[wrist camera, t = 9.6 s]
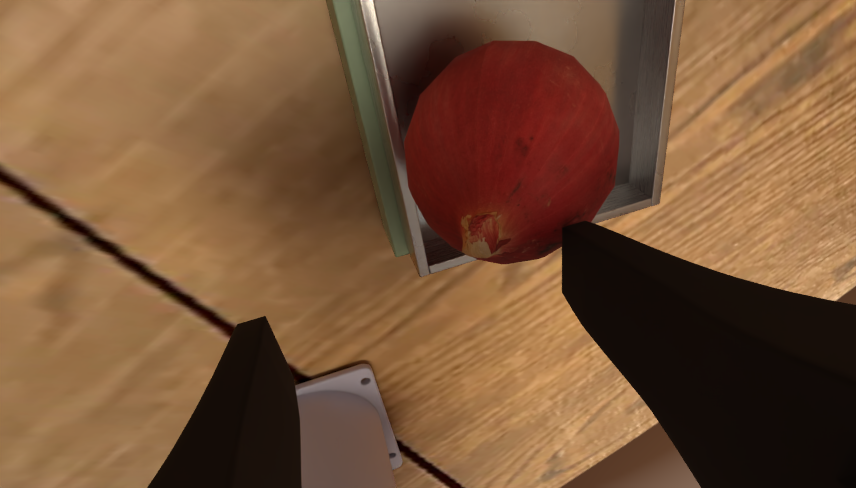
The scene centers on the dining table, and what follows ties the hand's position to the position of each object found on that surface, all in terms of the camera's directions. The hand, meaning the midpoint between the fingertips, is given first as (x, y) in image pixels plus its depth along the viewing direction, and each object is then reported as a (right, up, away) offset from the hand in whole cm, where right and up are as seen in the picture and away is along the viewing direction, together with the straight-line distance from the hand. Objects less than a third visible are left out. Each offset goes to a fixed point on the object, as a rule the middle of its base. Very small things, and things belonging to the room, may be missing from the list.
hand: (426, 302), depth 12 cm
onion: (+3, +6, +5) cm, 9 cm away
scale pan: (+3, +7, +6) cm, 10 cm away
